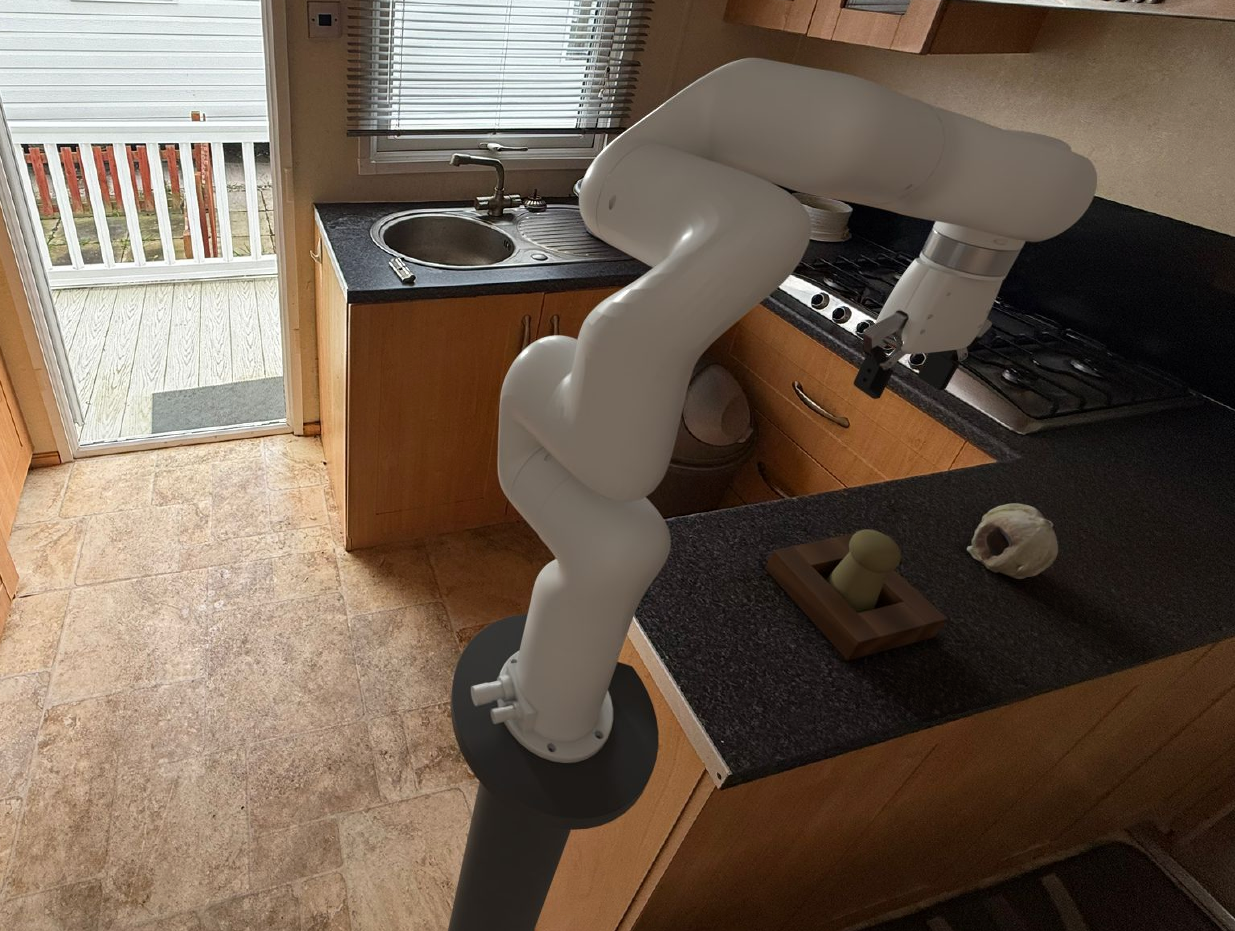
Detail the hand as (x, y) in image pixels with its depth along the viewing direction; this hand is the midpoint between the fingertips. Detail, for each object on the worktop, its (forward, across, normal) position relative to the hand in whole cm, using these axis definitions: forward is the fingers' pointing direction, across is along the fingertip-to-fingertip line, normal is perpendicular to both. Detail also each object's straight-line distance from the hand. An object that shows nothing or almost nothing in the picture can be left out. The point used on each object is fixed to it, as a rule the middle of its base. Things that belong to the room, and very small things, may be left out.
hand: (898, 387), depth 78 cm
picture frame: (+28, +2, +7) cm, 29 cm away
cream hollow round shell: (+28, -25, +7) cm, 39 cm away
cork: (+28, +2, +7) cm, 29 cm away
